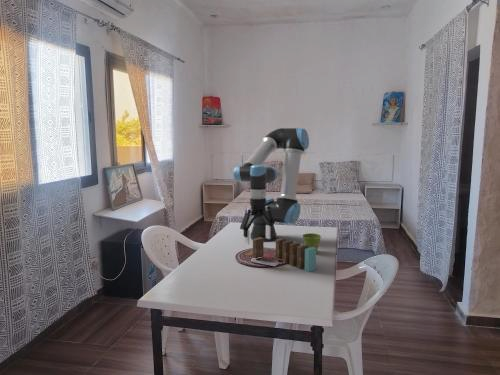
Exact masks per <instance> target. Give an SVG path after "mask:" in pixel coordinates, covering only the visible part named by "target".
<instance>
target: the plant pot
mask: <svg viewBox="0 0 500 375" xmlns="http://www.w3.org/2000/svg"><path fill="white" fill-rule="evenodd" d="M301 238H302V239H303V245H304V244H305V245H308V248H310V247H315V248H316V254H317V253H318V252H319V251H318V250H319V244H320V241H321V238H322V236H321V235H320V234H318V233H304V234H302V235H301Z"/></svg>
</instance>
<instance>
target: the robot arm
mask: <svg viewBox="0 0 500 375" xmlns="http://www.w3.org/2000/svg"><path fill="white" fill-rule="evenodd" d="M309 139H310V138H309V134H308V131H307V130H306V128H301V127H300V128H299V127H294V128H292V127H291V128H288V127H287V128H286V127H283V128H282V127H281V128H280V127H279V128H277V129H274V130H272V131H270V132H269V133H267V135H265V136H264V138H263V139H262V140H261V144H260V145H259V146H258V147H257V148H256V149H255V150H254V152H253V153H251V155H250V156H249V158H248V159H247V160H246V161H245V162H244V164H243V165H240V166H235V167H234V169H233V172H232V175H233V179H234V180H235V181H237V182H249V183H250V184H249V186H250V188H249V189H250V190H249V192H250V193H249V194H250V196H249V197H250V199H249V200H250V201H249V205H250V209H249V208H245V212H244V216H243V219H242V221H241V224H240V226H239V227H240V228H239V229H240V230H243V237H244V244H246V245H250V240H252V241H253V239H256V238H259V237H261V238H264V242H270V241H271V242H272V241H276V240H277V238H278V236H277V232H276V229H275V225H274V224H275V223H281V224H282V223H283V224H287V225H288V224H295V223H296V222H297V221H298V220H299V218H300V214H301V204H300V203H298V202H299V200H298V198H297V197H296V195H297V188H298V180H299V172H300V165H301V157H302V155H303V154H304V153H305V150H307V149H309V145H310V140H309ZM278 149H283V152H284V153H285V158H284V162H283V163H284V164H283V172H282V179H281V180H282V181H281V185H280V186H281V187H280V195H278V196H277V197H276V200H275V199H274V197H267V184H271V183H273V182H275V181H277V179H278V176H279V173H278V171H277V169H276V168H275V167H269V166H268V167H267V166H266V165H264V162H266V160H267V159H268V158H269V156H270V155H271V154H272V153H273V152H275V151H277V150H278ZM252 224H253V225H252ZM251 226H252V229H251V232H250V228H251Z"/></svg>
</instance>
